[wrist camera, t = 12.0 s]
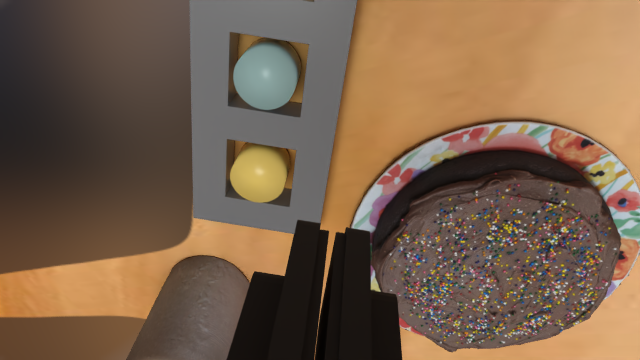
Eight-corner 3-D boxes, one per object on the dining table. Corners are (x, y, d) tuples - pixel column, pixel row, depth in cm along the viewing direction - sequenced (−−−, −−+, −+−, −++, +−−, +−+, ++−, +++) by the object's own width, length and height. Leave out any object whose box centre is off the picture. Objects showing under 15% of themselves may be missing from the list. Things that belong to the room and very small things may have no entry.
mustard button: (292, 141, 41) (287, 160, 38) (287, 186, 44) (282, 206, 41) (240, 133, 41) (230, 151, 38) (238, 178, 44) (229, 197, 41)
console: (380, -142, 30) (381, -146, 28) (320, 219, 46) (317, 237, 43) (201, -169, 30) (186, -176, 28) (203, 200, 46) (193, 217, 43)
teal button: (304, 42, 36) (298, 54, 34) (297, 98, 39) (292, 114, 36) (244, 33, 36) (234, 44, 34) (242, 89, 39) (232, 104, 36)
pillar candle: (166, 305, 55) (107, 428, 42) (172, 244, 49) (107, 365, 37) (246, 323, 55) (211, 450, 43) (260, 265, 50) (226, 391, 37)
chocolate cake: (691, 257, 45) (737, 308, 39) (453, 367, 56) (462, 418, 51) (539, 46, 36) (571, 73, 30) (293, 228, 47) (283, 272, 42)
